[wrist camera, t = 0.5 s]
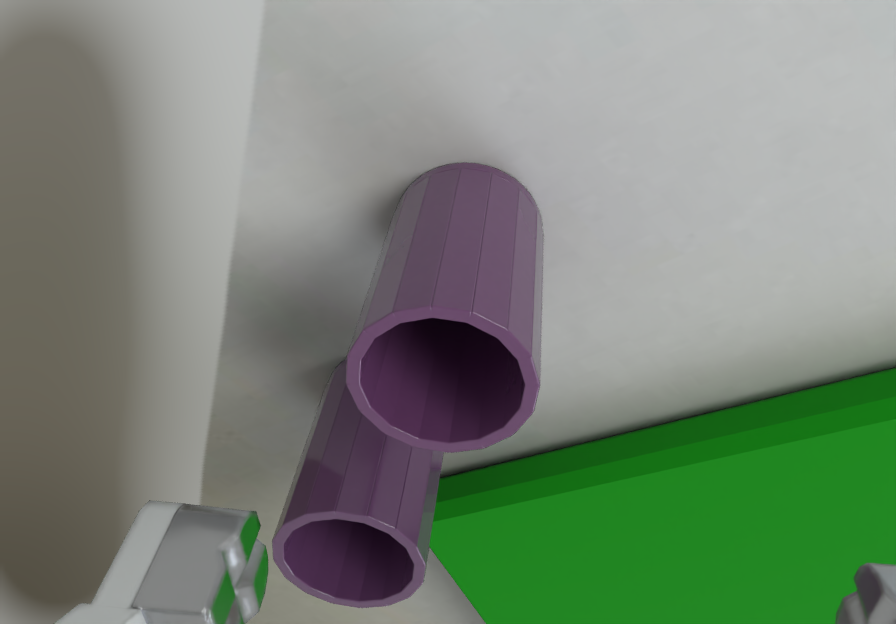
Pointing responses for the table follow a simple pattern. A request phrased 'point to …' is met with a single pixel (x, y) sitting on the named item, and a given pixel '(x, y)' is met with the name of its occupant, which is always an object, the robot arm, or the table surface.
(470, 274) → the plum tumbler
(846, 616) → the robot arm
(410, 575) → the tumbler
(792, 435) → the book
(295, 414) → the table surface
